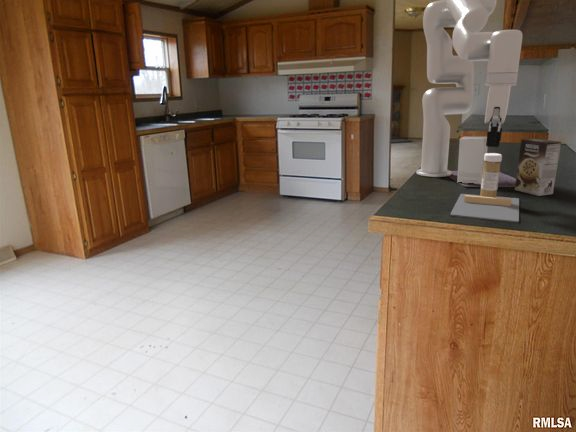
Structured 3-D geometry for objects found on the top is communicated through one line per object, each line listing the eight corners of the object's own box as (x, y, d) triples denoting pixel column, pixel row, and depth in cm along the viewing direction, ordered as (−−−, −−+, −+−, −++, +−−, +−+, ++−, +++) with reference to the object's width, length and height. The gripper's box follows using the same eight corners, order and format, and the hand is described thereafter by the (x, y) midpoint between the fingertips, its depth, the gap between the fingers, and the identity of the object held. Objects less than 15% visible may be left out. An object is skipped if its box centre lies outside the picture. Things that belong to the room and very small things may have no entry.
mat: (460, 194, 134) (461, 188, 134) (518, 199, 127) (519, 192, 126) (450, 215, 114) (450, 207, 113) (518, 222, 107) (519, 214, 106)
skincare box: (485, 181, 151) (490, 136, 147) (481, 185, 146) (486, 138, 141) (460, 179, 156) (464, 135, 151) (455, 182, 150) (459, 137, 146)
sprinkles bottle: (482, 197, 129) (487, 152, 125) (498, 199, 126) (504, 153, 122) (476, 200, 126) (482, 154, 122) (493, 203, 123) (499, 155, 119)
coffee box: (513, 190, 139) (520, 139, 134) (528, 187, 141) (535, 137, 136) (538, 196, 130) (546, 142, 126) (554, 194, 132) (562, 140, 128)
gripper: (487, 79, 125) (481, 139, 131) (483, 81, 111) (476, 148, 116) (517, 79, 122) (509, 140, 127) (516, 80, 107) (507, 149, 113)
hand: (493, 143), depth 122 cm, fingers open, 9 cm apart
